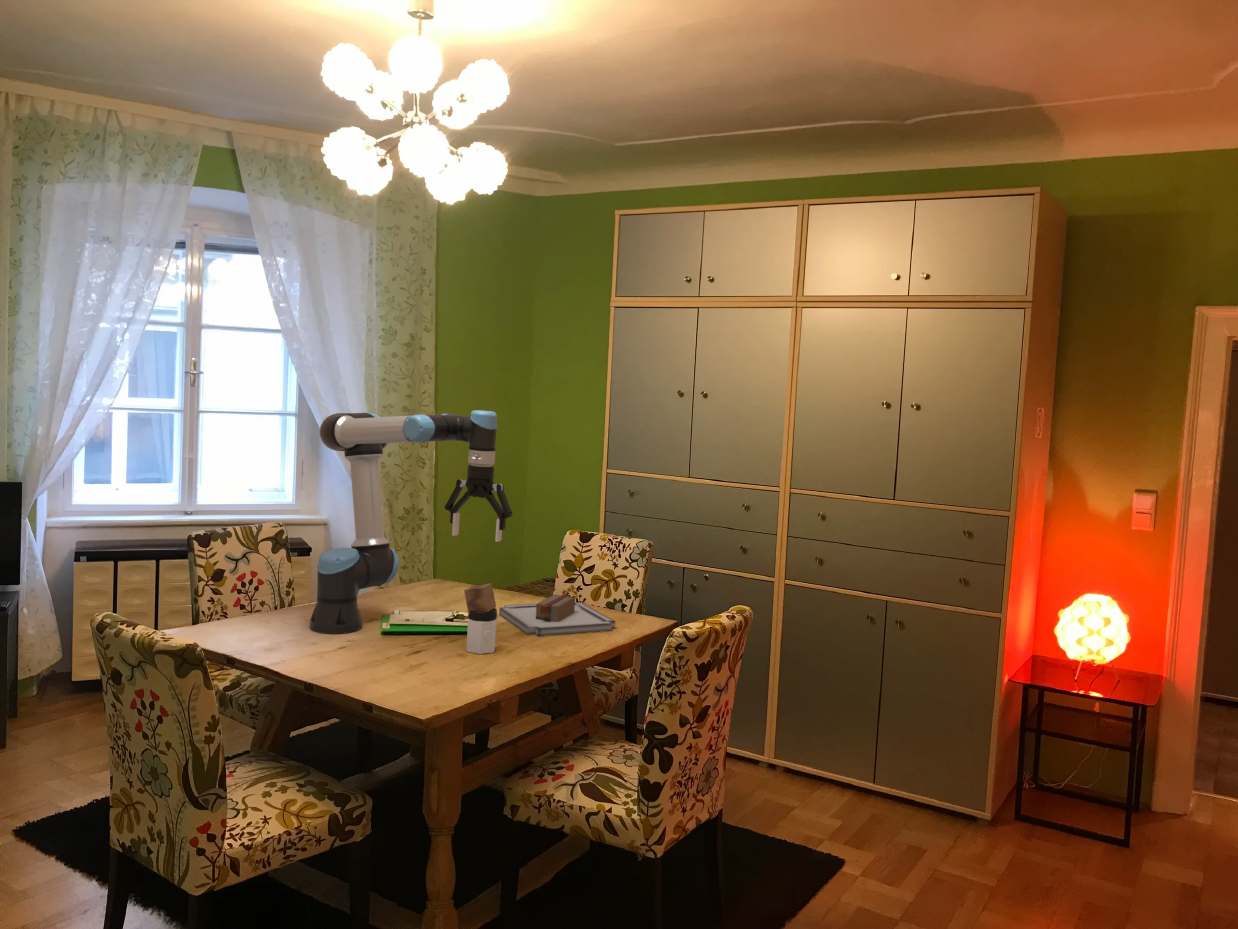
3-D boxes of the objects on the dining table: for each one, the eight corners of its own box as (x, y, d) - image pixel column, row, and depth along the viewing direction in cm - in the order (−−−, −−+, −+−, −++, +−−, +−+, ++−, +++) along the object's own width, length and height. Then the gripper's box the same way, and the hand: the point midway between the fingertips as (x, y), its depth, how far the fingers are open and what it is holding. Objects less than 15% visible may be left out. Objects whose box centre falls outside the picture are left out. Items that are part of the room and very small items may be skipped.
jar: (472, 655, 277) (474, 613, 276) (460, 648, 283) (462, 607, 282) (501, 652, 282) (503, 611, 281) (488, 644, 288) (490, 604, 287)
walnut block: (468, 614, 280) (464, 590, 279) (477, 609, 285) (472, 585, 285) (487, 612, 278) (483, 587, 277) (496, 606, 284) (491, 583, 283)
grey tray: (618, 632, 313) (619, 609, 313) (530, 639, 300) (531, 614, 299) (578, 610, 340) (580, 588, 339) (496, 615, 326) (497, 592, 325)
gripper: (435, 461, 281) (431, 534, 283) (516, 470, 274) (511, 545, 276) (447, 459, 288) (443, 531, 290) (526, 468, 281) (521, 541, 283)
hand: (476, 538), depth 283 cm, fingers open, 13 cm apart
